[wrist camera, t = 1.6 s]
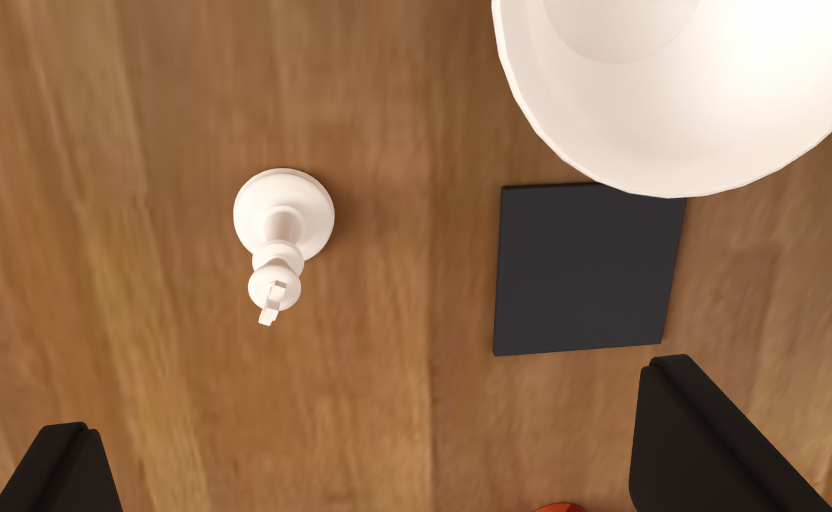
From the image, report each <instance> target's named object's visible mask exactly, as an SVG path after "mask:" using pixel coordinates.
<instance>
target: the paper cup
mask: <svg viewBox="0 0 832 512" xmlns="http://www.w3.org/2000/svg"><path fill="white" fill-rule="evenodd" d="M535 512H587V511H586V510H585V509H584V508H582V507H580V506H577V505H574V504H569V503H558V504H552V505H548V506H545V507H542V508H540V509H538V510H536V511H535Z"/></svg>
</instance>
